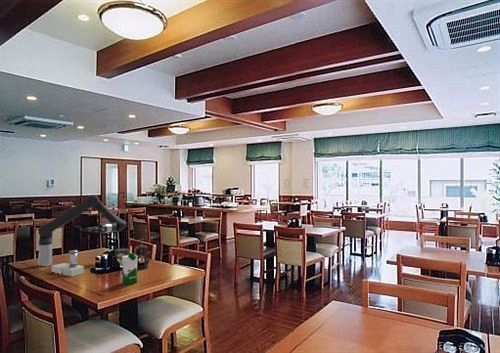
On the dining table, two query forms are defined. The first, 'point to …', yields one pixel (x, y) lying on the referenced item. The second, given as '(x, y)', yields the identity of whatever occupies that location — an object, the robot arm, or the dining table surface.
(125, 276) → the milk carton
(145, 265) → the french press
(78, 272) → the stand
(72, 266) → the cylinder
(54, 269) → the stand
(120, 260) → the coffee can
